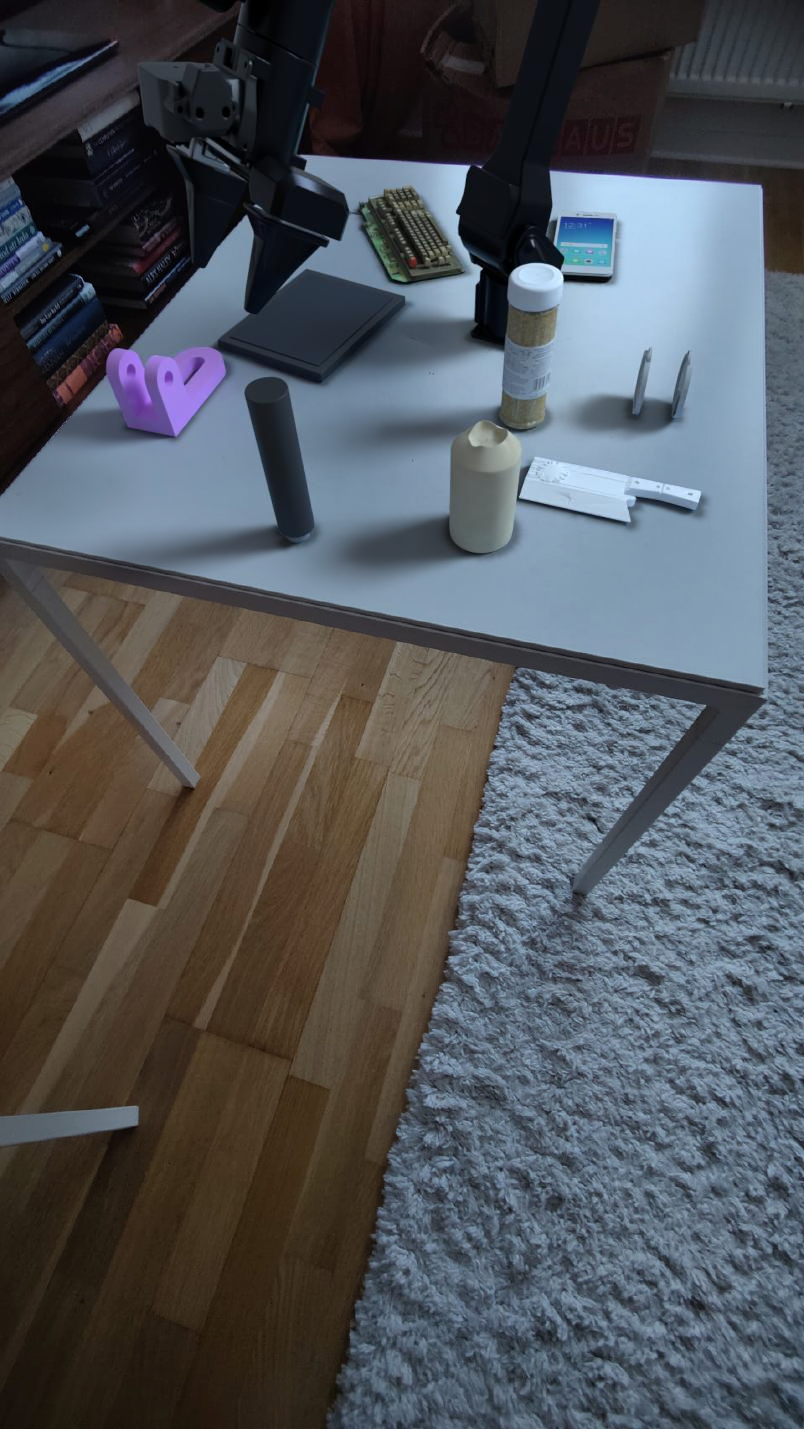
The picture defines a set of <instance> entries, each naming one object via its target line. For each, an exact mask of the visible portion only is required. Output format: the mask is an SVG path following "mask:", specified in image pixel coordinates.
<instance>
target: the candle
mask: <svg viewBox="0 0 804 1429" xmlns="http://www.w3.org/2000/svg"><path fill="white" fill-rule="evenodd" d="M522 456H523V446H522V444H521V441H520V440H519V439H518V437H517V436H515V435H514V434H513V433H512V432H510V431H509V430H508V429H507V428H504V427H501V426H499V425H497V424H495V423H493V422H492V421H490V420H487V419H482V420H479V421H478V422H477V423H475V424H474V425H472V426H471V427H469V428H467V429H465V430H463V431H462V432H461V433H459V434H458V435H457V436H456V437H455V438H454V439H453V441H452V443H451V445H450V460H449V461H450V464H449V465H450V466H449V468H450V471H449V473H450V474H449V522H448V523H449V533H450V537H451V539H452V541H453V542H454V544H455V545H456V546H458V547H459V548H460V549H462V550H464V551H467V552H470V553H475V554H488V553H492V552H495V551H498V550H500V549H502V548H504V547H505V546H506V545H507V544H508V543H509V541H510V540H511V538H512V535H513V532H514V523H515V516H516V509H517V508H516V507H517V498H518V490H519V482H520V472H521V463H522Z"/></svg>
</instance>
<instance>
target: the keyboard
mask: <svg viewBox="0 0 804 1429" xmlns="http://www.w3.org/2000/svg"><path fill="white" fill-rule="evenodd" d="M358 204H359V208H358V210H359V212H360V214H362V216H363V219H365V221H364V222H363V223H362V226H363V227H364V230H365V231H366V234H367V235H368V237H369V239H370V241H371V244H372V245H373V246H374V249H375V250H376V253H377V255H378V256H379V259H380V261H381V263H382V264H383V265H384V268H385V271H386V272H387V274H388V275H389V277H390V278H391V279H392V280H395V281H398V282H402V283H405V284H408V283H411V282H416V281H420V280H421V281H422V280H428V279H432V278H438V277H445V276H452V275H459V274H460V275H461V274H464V273H466V270H465V268H464V266H463V264H462V263H461V261H460V260H459V259H458V257H457V255H456V254H455V252H454V250H453V247H452V245H450V244H449V240H448V238H447V237H446V235H445V234H444V232H443V231H442V229H441V227H440V226H439V223H438V222H437V221H436V220H435V218H434V216H432V214H431V213H430V212H429V211H428V210H427V209H426V207H425V204H424V201H423V200H422V199H421V198H420V195H419V193H418V192H417V190H416V189H415V188H414V187H413V185H406V186H402V188H401V187H396V188H383V194H379V195H373V196H368V200H367V201H366V202H365V201H361V202H360V201H358Z"/></svg>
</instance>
